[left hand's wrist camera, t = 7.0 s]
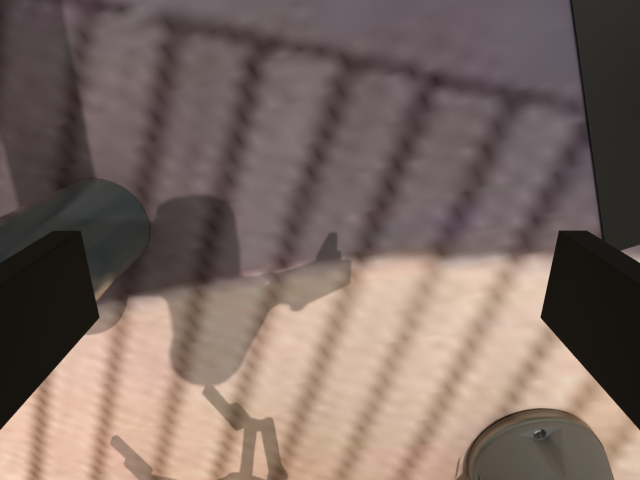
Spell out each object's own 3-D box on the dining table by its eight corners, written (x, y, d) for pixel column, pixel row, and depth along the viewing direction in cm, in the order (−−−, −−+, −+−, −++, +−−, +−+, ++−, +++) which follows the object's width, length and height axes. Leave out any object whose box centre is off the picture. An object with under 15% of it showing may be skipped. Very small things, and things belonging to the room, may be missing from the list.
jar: (34, 197, 40) (-195, 301, 22) (120, 164, 39) (-49, 245, 21) (85, 279, 44) (-80, 428, 26) (166, 251, 42) (53, 385, 24)
